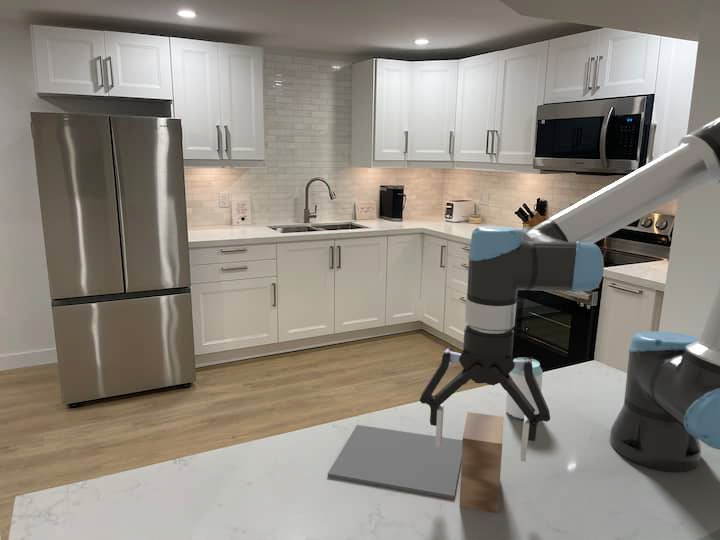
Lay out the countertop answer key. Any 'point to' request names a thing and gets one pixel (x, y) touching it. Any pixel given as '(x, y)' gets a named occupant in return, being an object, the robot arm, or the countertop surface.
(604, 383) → the countertop surface
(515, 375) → the can
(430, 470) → the mat
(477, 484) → the walnut block
